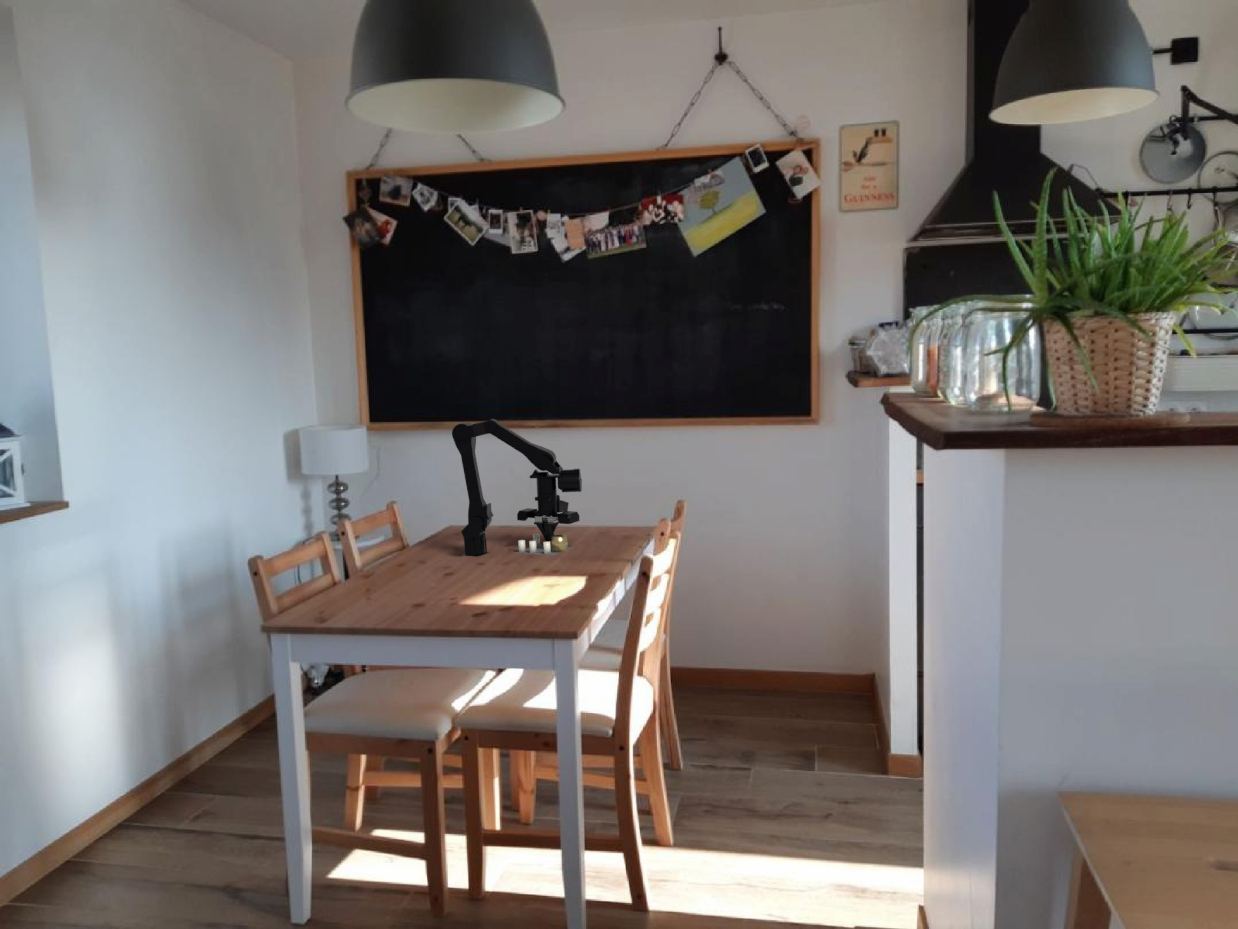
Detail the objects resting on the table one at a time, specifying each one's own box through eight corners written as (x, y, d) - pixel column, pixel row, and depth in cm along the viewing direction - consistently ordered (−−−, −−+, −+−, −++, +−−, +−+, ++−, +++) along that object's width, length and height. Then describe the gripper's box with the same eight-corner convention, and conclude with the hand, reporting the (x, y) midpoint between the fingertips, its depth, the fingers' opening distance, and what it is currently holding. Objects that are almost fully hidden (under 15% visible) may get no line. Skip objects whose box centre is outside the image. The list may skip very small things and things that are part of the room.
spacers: (548, 554, 274) (547, 542, 274) (514, 552, 280) (514, 540, 280) (569, 547, 284) (568, 535, 283) (536, 545, 290) (535, 533, 290)
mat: (553, 556, 273) (553, 555, 273) (513, 554, 280) (513, 552, 280) (575, 548, 283) (575, 547, 283) (537, 545, 290) (537, 544, 290)
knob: (561, 553, 276) (561, 537, 275) (548, 551, 278) (548, 535, 278) (570, 549, 280) (570, 534, 279) (557, 547, 282) (557, 532, 281)
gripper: (588, 489, 281) (590, 541, 283) (536, 487, 290) (538, 537, 292) (568, 496, 271) (570, 549, 273) (514, 492, 281) (517, 544, 283)
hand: (549, 544), depth 281 cm, fingers closed
